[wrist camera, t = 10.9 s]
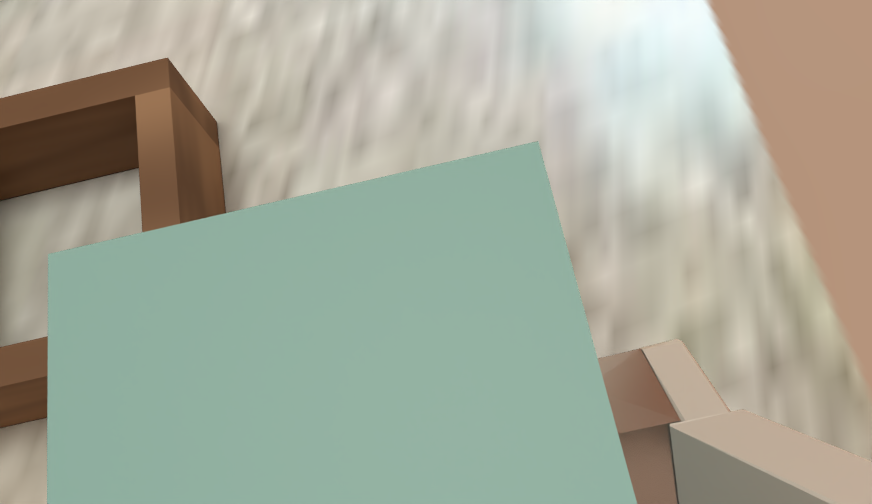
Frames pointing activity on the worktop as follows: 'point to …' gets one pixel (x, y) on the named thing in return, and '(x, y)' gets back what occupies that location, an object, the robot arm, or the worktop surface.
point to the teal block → (336, 352)
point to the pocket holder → (105, 172)
